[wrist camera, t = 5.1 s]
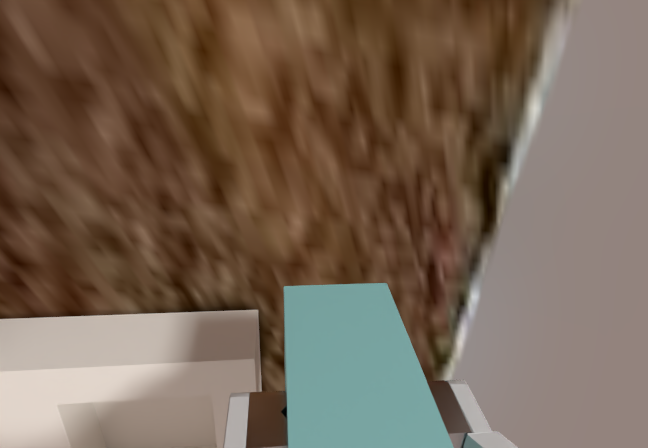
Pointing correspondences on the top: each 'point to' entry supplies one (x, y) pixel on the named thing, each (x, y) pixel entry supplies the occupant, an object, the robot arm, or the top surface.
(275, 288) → the top surface
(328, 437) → the plug
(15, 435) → the socket block
